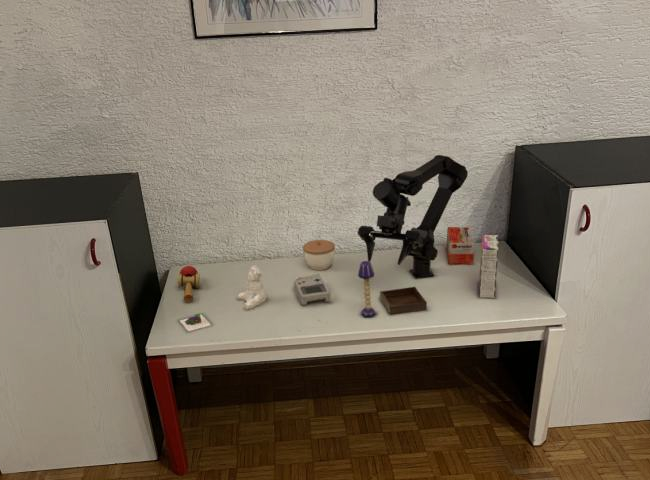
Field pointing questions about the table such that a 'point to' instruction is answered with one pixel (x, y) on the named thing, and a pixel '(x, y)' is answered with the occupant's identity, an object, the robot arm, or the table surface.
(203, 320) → the puzzle cube
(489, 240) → the candy bar box
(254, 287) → the white creature statuette
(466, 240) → the medicine box
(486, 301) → the table surface
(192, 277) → the kendama
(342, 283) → the table surface
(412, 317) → the table surface
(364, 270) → the toy lamp
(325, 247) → the trinket box
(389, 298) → the tray
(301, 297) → the handheld gaming device
